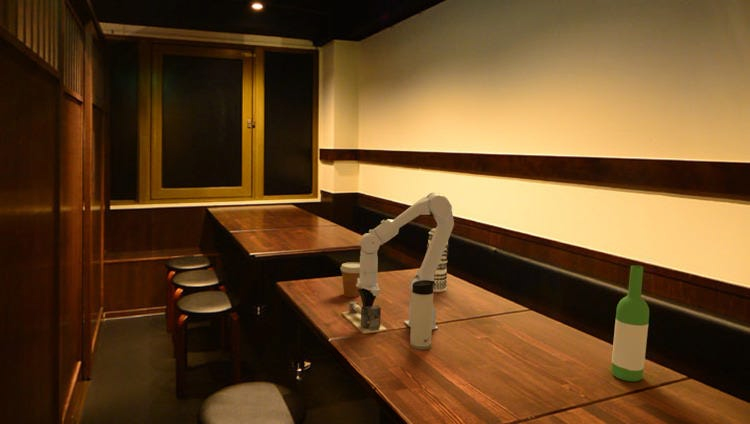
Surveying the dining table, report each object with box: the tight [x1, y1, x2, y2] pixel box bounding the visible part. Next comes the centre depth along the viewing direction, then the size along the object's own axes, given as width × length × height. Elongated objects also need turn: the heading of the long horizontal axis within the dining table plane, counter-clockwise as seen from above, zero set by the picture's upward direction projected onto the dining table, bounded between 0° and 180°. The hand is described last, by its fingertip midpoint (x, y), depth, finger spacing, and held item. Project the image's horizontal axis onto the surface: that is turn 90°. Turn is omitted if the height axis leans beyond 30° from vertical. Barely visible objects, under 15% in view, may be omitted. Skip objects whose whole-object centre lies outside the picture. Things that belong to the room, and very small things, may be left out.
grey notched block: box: [360, 304, 382, 328], centre depth 171 cm, size 3×6×6 cm, turn 113°
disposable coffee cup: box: [340, 262, 362, 298], centre depth 207 cm, size 10×10×12 cm
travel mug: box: [409, 280, 435, 351], centre depth 157 cm, size 6×7×20 cm
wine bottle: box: [610, 264, 650, 382], centre depth 139 cm, size 8×8×30 cm
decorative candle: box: [426, 227, 450, 293], centre depth 217 cm, size 9×9×25 cm
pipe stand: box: [341, 300, 387, 334], centre depth 177 cm, size 20×8×4 cm, turn 23°
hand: (367, 311), depth 174 cm, fingers closed
